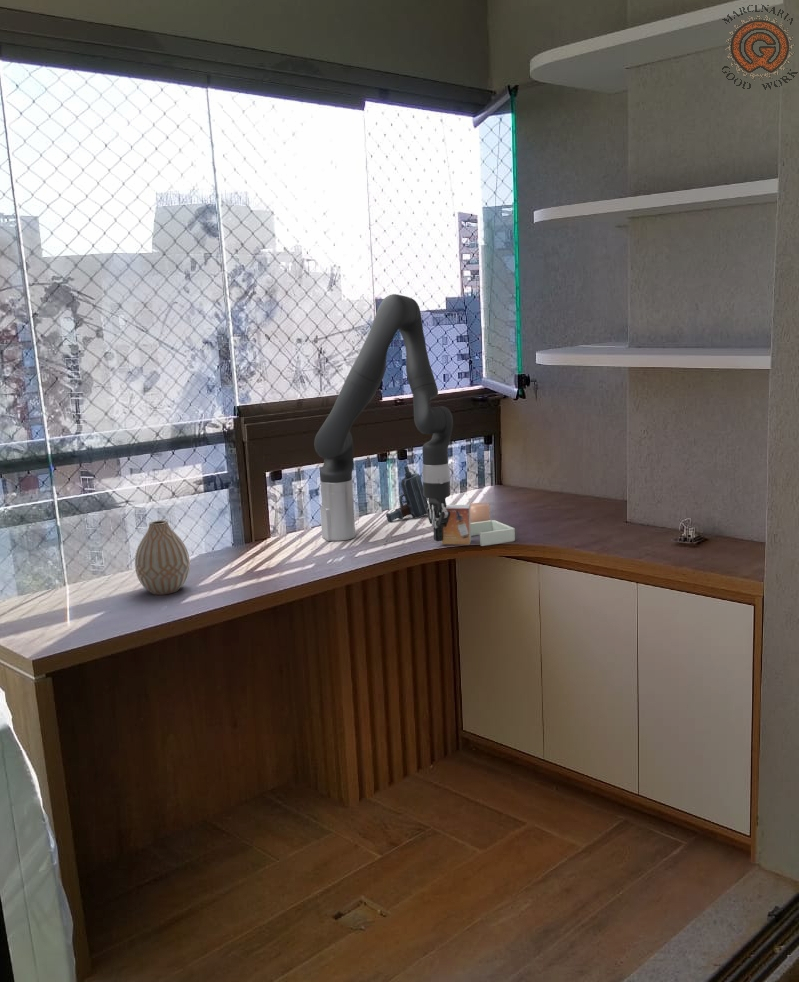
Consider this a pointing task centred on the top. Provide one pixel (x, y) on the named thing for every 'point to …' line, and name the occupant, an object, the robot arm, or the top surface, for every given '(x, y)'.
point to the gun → (410, 498)
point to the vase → (162, 559)
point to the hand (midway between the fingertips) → (438, 540)
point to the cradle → (492, 532)
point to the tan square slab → (479, 512)
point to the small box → (458, 525)
